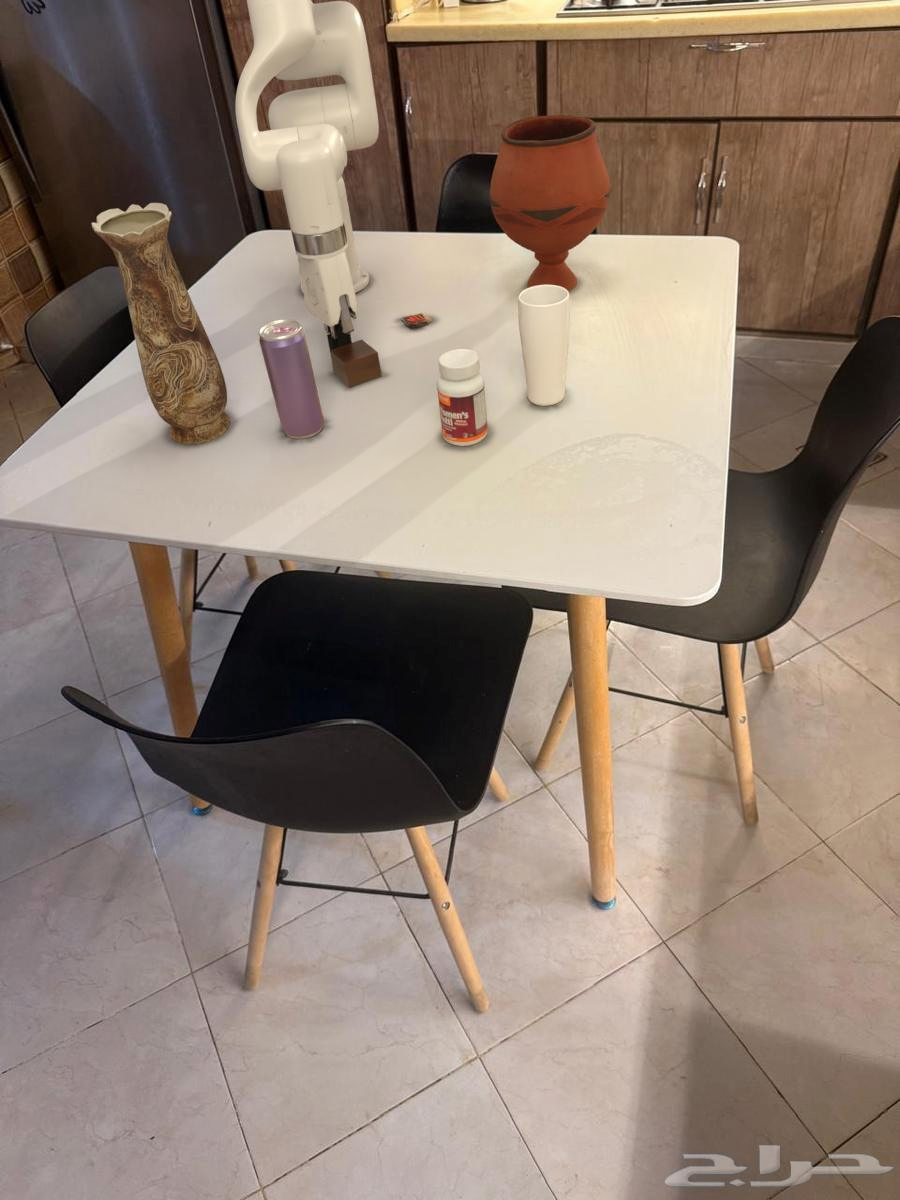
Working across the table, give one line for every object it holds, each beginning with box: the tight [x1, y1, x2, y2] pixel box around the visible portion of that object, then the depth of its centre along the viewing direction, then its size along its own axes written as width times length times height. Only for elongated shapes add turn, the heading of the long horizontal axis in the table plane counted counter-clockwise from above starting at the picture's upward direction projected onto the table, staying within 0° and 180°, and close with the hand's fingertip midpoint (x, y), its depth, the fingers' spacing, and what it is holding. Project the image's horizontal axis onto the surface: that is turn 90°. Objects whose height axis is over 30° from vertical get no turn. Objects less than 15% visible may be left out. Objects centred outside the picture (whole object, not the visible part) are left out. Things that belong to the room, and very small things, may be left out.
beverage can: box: [258, 319, 325, 440], centre depth 118 cm, size 6×6×15 cm
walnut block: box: [329, 339, 382, 389], centre depth 132 cm, size 6×6×4 cm
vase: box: [91, 202, 231, 445], centre depth 115 cm, size 10×11×30 cm
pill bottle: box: [436, 348, 488, 447], centre depth 114 cm, size 6×6×11 cm
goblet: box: [489, 114, 611, 292], centre depth 142 cm, size 19×19×25 cm
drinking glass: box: [517, 285, 571, 407], centre depth 117 cm, size 7×7×15 cm
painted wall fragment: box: [399, 312, 433, 329], centre depth 144 cm, size 5×5×1 cm
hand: (342, 357), depth 135 cm, fingers closed
